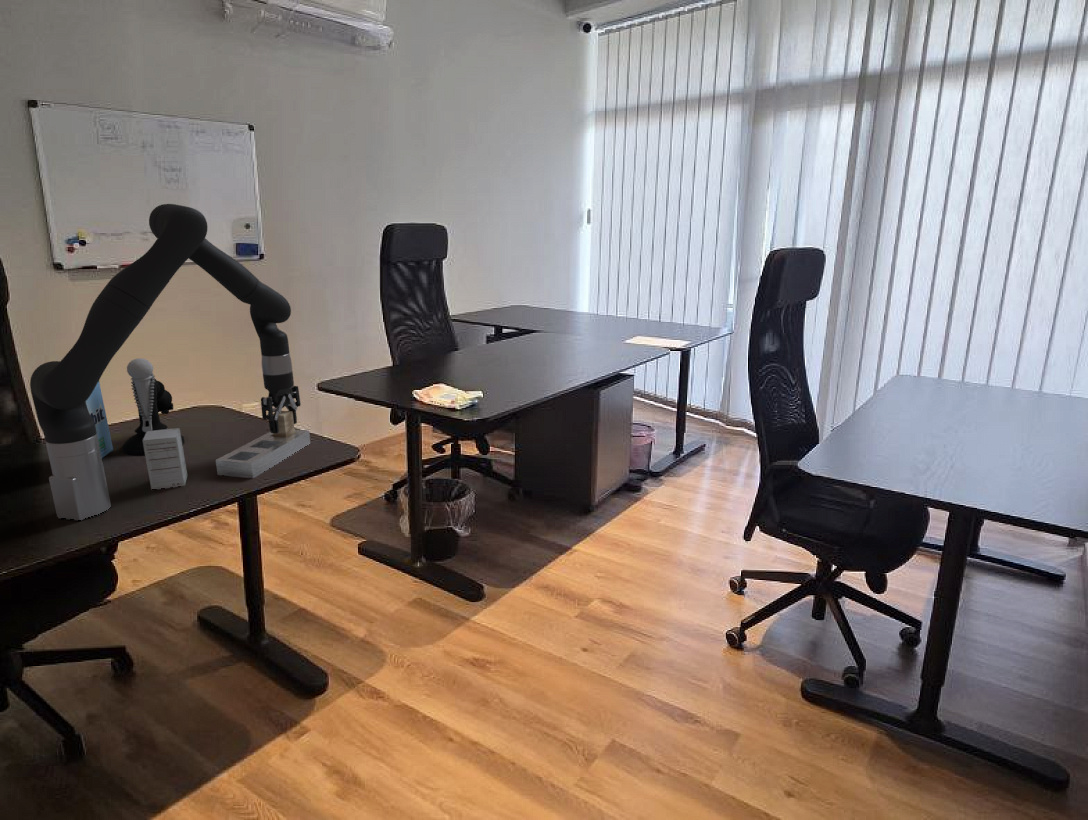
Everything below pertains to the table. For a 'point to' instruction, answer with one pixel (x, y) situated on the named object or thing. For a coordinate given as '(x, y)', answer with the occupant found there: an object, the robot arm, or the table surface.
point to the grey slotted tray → (261, 454)
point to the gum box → (100, 420)
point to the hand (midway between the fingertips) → (284, 428)
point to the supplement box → (165, 458)
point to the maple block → (285, 424)
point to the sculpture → (146, 404)
